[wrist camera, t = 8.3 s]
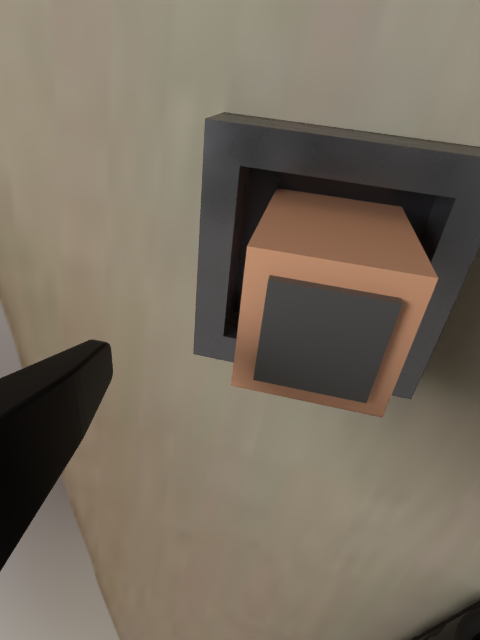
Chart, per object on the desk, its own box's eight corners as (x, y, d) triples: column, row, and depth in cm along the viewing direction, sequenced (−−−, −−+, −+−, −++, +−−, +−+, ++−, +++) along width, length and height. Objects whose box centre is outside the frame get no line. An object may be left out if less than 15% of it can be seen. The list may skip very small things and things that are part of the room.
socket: (488, 148, 13) (517, 161, 11) (402, 361, 18) (411, 399, 16) (223, 112, 14) (205, 118, 12) (209, 323, 19) (193, 354, 17)
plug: (401, 206, 14) (441, 284, 9) (368, 314, 17) (383, 424, 11) (276, 188, 15) (244, 250, 10) (261, 294, 17) (229, 392, 12)
